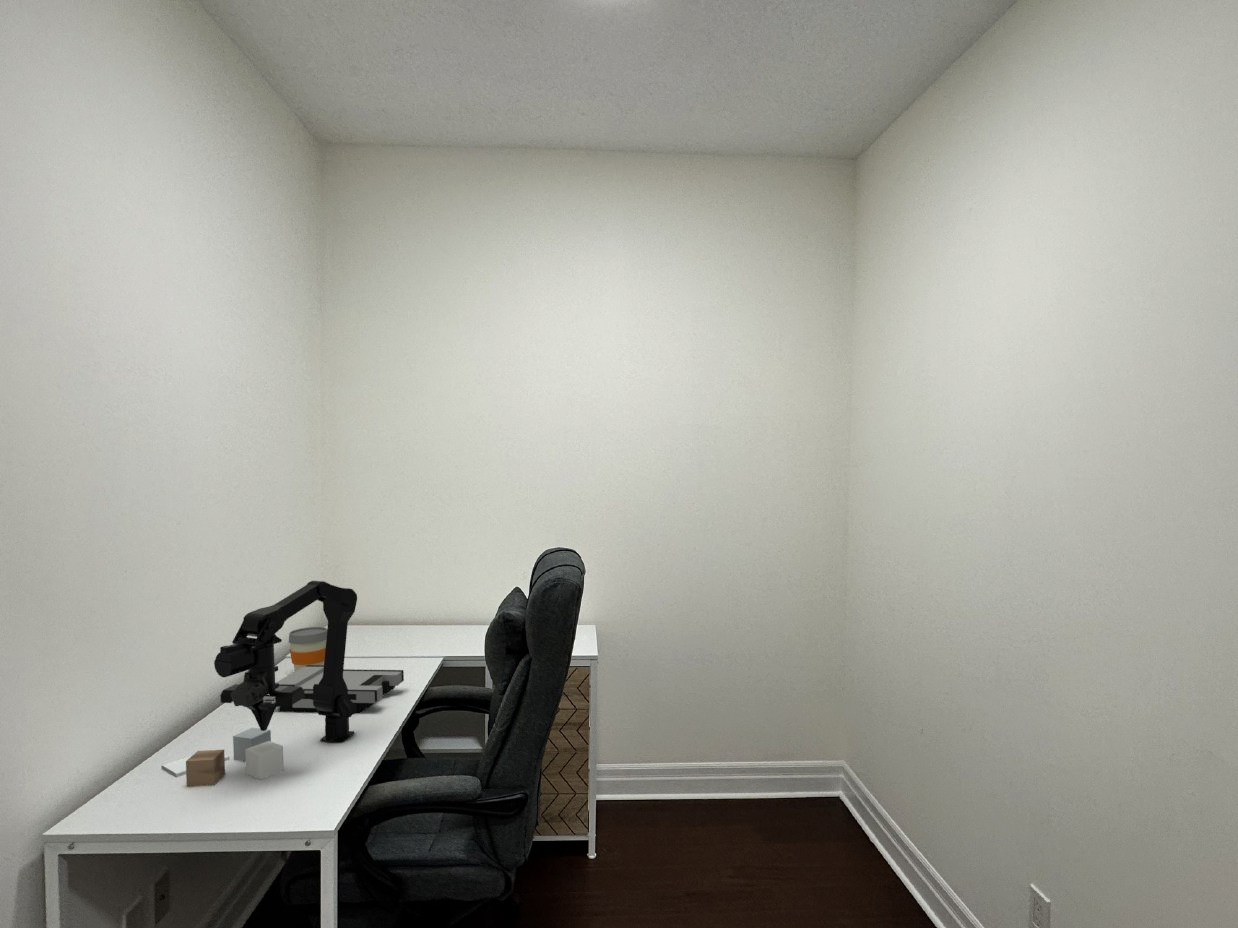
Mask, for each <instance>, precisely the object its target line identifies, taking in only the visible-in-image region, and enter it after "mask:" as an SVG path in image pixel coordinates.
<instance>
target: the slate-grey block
mask: <svg viewBox="0 0 1238 928" xmlns="http://www.w3.org/2000/svg"><path fill="white" fill-rule="evenodd" d="M271 736H272V732H271V729H267V730H265V731H261V729H260V727H259V728H258V727H251V728H249V729H246V730H244V731H241V732H239V733H237V734H234V735H232V745H233V746H232V748H233V760H234V761H240V762H245V763H246V755H245V749H247V748H250V747H253V746H256V745H259V744H261V743H264V742H267V741H271V742H272V737H271Z"/></svg>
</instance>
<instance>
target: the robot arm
mask: <svg viewBox="0 0 1238 928" xmlns="http://www.w3.org/2000/svg"><path fill="white" fill-rule="evenodd" d="M317 601H318V602H321V603H322V609H323V610H322V611H323V614H324V615H325V618H326V620H327V627H326V628H327V639H326V649H325V660H324V670H323V677H322V679H321V680H320V682H319V683H318V684H314V686H313V696H312V699H311V700H313V705H314V707H315V708H316V709H317V712H318V713H317V714H318V716H324V717H325V718H324V729H325V730H324V732H325V733H324V734H325V735H324V736H323V737H321V738H320V739H319V740H320V742H331V743H333V742H334V743H344V742H345V741H346V740H348V739H349V738H350V737H353V735H355V733H356V732H355V730H354V731H353V730H352V731H351V730H350V718H351V717H352V716H353V715H355V714H356V713H355V712H356V707H357V705H356V704H354V703H353V702H352V701H351V700H350V699H348V688H347V685H346V683H345V681H344V679H343V669H344V668H345V667H344V666H345V658H346V655H345V654H346V647H347V646H346V645H347V634H348V623H349V621H350V619H351V618H352V617H353V615H354V614H355V611H356V606H357V603H358V602H357V601H358V594H357V593H356V592H355V590H354V589H352V588H348V587H340V586H337V585H334V584H330V583H328V582H326V581H322V580H311V581H308V582H307V583H306V584H305V585H304V586H302V587H300V588H298V589H297V590H296V591H294V592H292V593H291V594H289V595H288V596H286V597H284V598H283V599H281V600H279V601H278V602H276V603H274V604H272V605H270V606H269V605H268V606H265V607H260V608H258V609H255V610H251V611H250V612H248V613H246V614H245V615H244V616H243V618H242V619H243V620H242V622H241V625H240V627H239V628H238V630H237V632H236V634H235V636H234V637H233V640H232V643H231V644H230V645H223V646H220V648H219V649H220V651H219V652H218V653H217V655H216V656H215V659H214V661H213V662H214V663H213V664H214V669H215V672H216V673H217V675H218V676H220V677H222V678H227V677H231V676H233V675H238V674H240V673H243V672H244V675H243V681H242V682H241V683H239V684H237V683H235V684H232V685H231V686H229V687H227V688H225V689H223V690H222V691H221V693H220V695H219V698H220V700H219V701H220V703H221V704H232V703H233V706H234V707H240V706H241V707H244V708H247V709H248V710H250V711H251V712H252V714H253V716H254V718H255V720H256V722H257V725H258V727H259V729H261V731H265V730H268V728H269V725H270V723H271V720H272V718H273V716H274V713H275V711H276V709H277V705H293V704H294V703H296V702H298V701H300V700H301V699H303V698H305V691H304V689H303V688H302V687H298V686H288V687H286V688H284V689H282V690H280V691H276V689H277V688H278V687H279V683H276V672H278V671H279V666H278V665H277V666H275V665H276V664H275V663H276V662H275V644H279V643H282V641H283V639H281V638H280V637H278V636H277V635H276V633H278V632H279V631H280V630H281V629H282V628H283V626H284V625H285V622H286V621H288V620H289V618H292V617H293V616H294V615H296V614H297V613H299V612H301V611H302V610H304V609H305V608H307V607H309V606H310V605H311V604H313V603H315V602H317ZM245 671H246V672H245Z"/></svg>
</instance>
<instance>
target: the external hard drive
mask: <svg viewBox="0 0 1238 928" xmlns="http://www.w3.org/2000/svg"><path fill="white" fill-rule="evenodd" d="M211 750H217V749H216V748H212V749H211ZM191 756H192V755H189V756H187V757H183V758H181V759H178V760H174V761H172V762H169V763H168V762H167V763H165V764H162V765H161V770H162V771H164V772H165V773H168V774H169V775H171V776H173V777H175V778H178V777H181V776H185V775H186V761H187V760H188V759H189V758H190V757H191ZM224 756H225V762H226V761H230V755H229V754H227V753H224Z"/></svg>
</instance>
